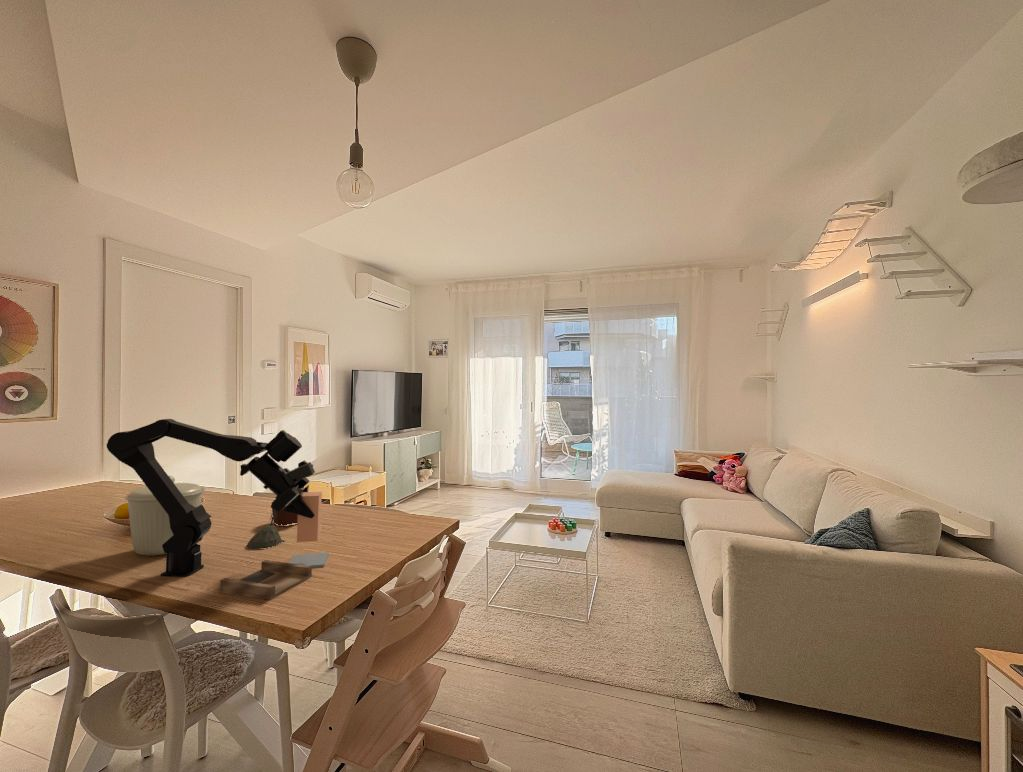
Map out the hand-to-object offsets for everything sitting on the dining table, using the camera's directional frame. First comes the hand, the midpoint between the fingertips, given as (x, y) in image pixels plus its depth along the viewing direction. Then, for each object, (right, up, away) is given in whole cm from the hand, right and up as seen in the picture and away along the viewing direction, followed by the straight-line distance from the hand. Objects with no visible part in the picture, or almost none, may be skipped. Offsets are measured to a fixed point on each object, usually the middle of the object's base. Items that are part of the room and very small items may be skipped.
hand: (315, 514), depth 117 cm
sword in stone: (-20, -13, +12) cm, 27 cm away
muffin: (-25, -14, +35) cm, 45 cm away
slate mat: (-1, -13, -1) cm, 13 cm away
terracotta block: (-1, -6, -1) cm, 7 cm away
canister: (-46, -12, +7) cm, 48 cm away
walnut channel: (-5, -12, -15) cm, 20 cm away
